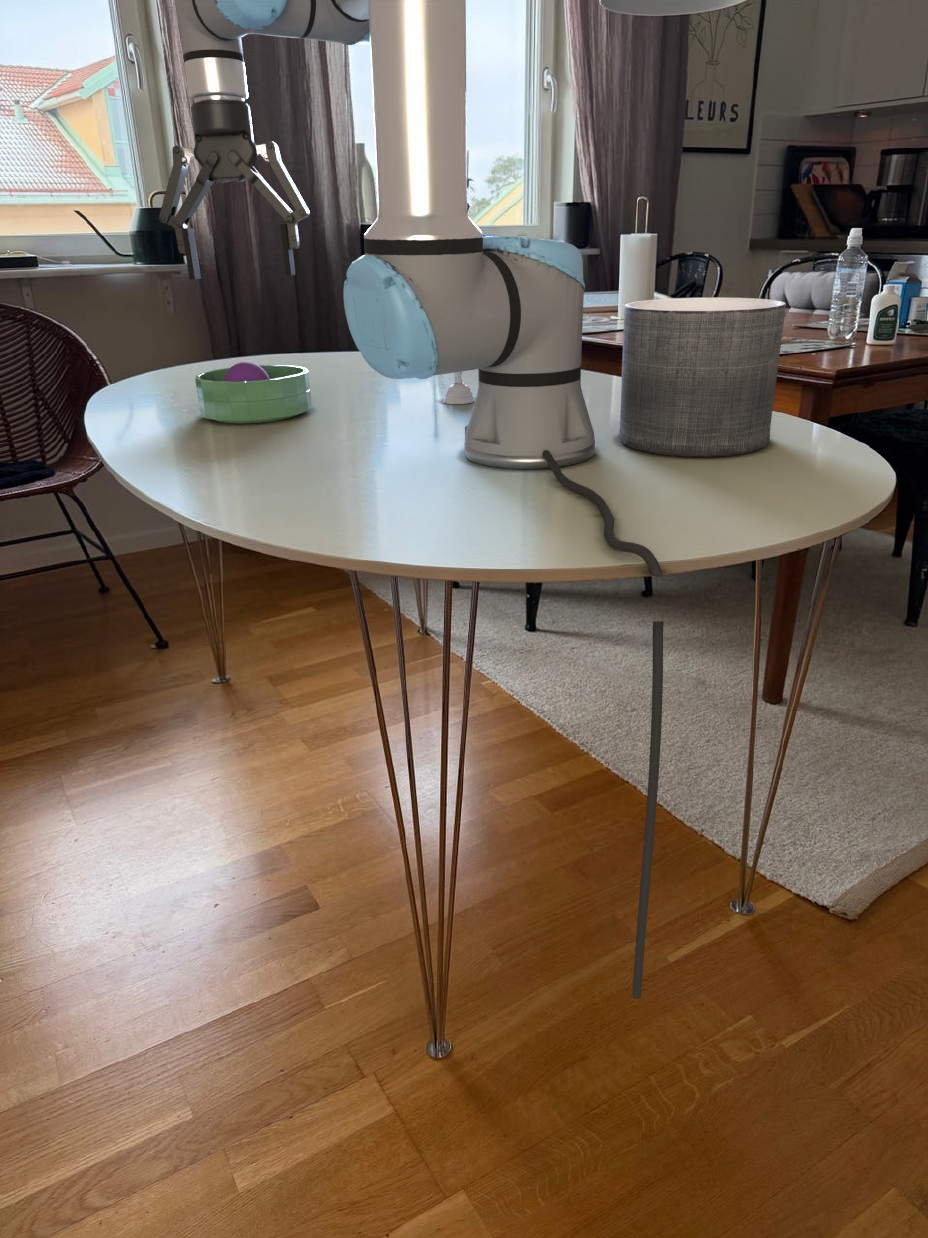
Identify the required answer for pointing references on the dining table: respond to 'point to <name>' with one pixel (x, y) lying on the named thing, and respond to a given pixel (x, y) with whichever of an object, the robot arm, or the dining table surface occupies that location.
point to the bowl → (254, 395)
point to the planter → (699, 375)
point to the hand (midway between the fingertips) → (242, 277)
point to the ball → (245, 373)
